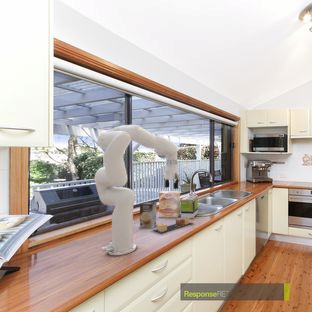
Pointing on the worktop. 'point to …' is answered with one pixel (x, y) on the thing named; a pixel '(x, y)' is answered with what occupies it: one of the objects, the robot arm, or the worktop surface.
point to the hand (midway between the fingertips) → (171, 187)
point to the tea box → (189, 206)
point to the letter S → (179, 222)
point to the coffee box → (147, 215)
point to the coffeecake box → (169, 204)
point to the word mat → (171, 226)
